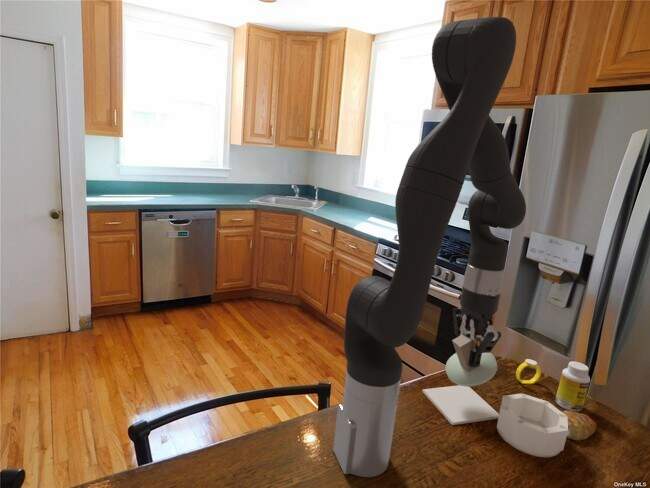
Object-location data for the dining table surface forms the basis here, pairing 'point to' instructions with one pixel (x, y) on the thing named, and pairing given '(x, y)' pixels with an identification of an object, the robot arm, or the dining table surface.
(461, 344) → the lid
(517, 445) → the bowl
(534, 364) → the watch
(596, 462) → the dining table surface
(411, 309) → the robot arm
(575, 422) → the pastry
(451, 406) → the mat
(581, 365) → the supplement bottle
